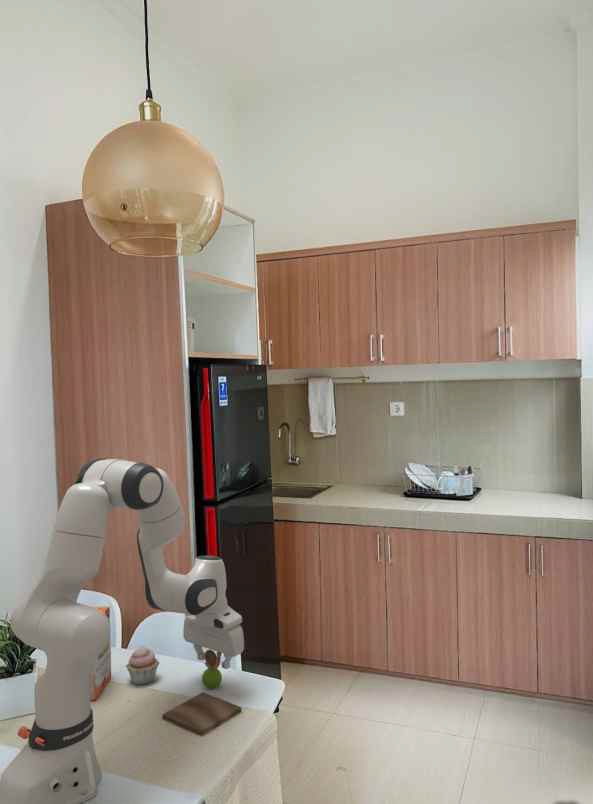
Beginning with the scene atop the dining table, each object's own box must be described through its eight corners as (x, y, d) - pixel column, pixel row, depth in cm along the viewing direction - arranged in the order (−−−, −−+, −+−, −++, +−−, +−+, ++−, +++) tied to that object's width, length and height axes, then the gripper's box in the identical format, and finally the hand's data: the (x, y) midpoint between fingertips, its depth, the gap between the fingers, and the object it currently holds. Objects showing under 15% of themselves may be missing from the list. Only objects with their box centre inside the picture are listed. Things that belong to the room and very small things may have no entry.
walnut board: (201, 736, 156) (201, 731, 156) (162, 718, 165) (162, 714, 165) (241, 711, 167) (241, 707, 167) (202, 696, 176) (202, 692, 176)
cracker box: (97, 701, 175) (94, 623, 174) (75, 701, 175) (71, 624, 174) (113, 677, 189) (110, 605, 188) (92, 677, 189) (89, 605, 188)
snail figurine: (215, 695, 176) (213, 651, 176) (198, 689, 180) (196, 645, 180) (228, 687, 181) (227, 644, 180) (212, 681, 184) (210, 639, 184)
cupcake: (150, 669, 193) (149, 636, 192) (165, 680, 186) (164, 646, 185) (120, 679, 187) (119, 645, 187) (134, 691, 180) (133, 655, 179)
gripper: (176, 610, 184) (179, 658, 184) (230, 625, 171) (232, 677, 172) (193, 603, 189) (195, 650, 189) (246, 617, 176) (248, 668, 177)
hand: (213, 663), depth 180 cm, fingers open, 8 cm apart
